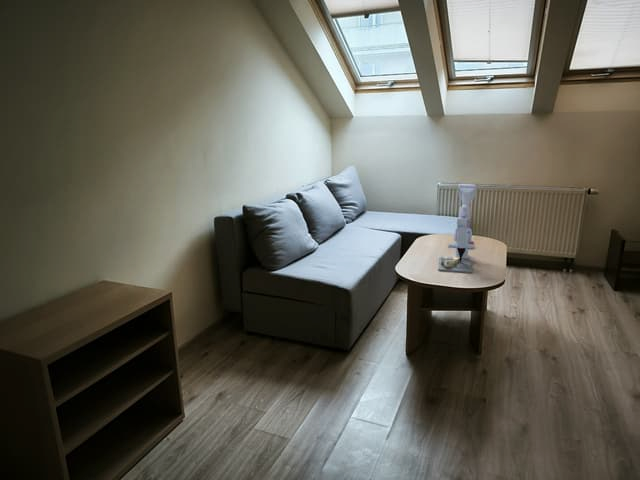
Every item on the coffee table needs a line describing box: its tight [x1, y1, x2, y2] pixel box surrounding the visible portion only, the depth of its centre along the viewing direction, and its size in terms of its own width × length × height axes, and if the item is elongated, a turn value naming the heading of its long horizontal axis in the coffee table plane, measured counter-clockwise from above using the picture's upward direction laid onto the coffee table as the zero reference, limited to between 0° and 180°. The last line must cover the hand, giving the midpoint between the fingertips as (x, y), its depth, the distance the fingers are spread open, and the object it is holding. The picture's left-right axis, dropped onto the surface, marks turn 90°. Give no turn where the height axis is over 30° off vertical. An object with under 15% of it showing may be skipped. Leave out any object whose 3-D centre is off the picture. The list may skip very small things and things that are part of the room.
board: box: [437, 257, 473, 274], centre depth 257 cm, size 21×18×1 cm
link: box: [444, 255, 460, 268], centre depth 257 cm, size 18×4×3 cm, turn 142°
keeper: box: [440, 255, 454, 265], centre depth 256 cm, size 3×6×4 cm, turn 74°
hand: (460, 260), depth 260 cm, fingers closed, pressing on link
